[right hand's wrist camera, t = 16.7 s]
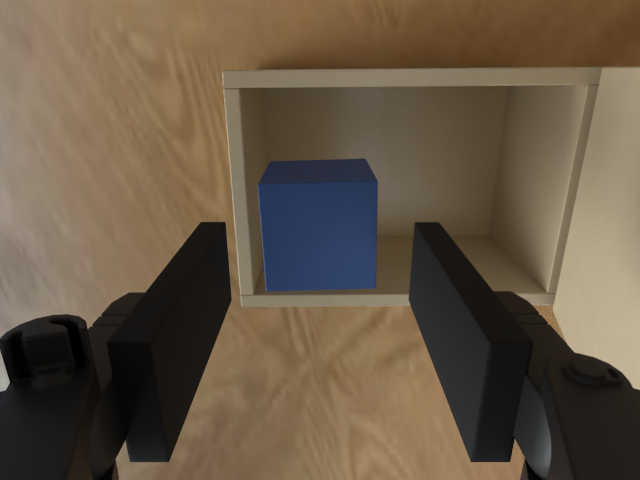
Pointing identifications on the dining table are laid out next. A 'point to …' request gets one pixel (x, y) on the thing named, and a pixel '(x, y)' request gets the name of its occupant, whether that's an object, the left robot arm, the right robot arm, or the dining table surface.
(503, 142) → the chest
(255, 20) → the dining table surface
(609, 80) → the lid
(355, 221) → the block
